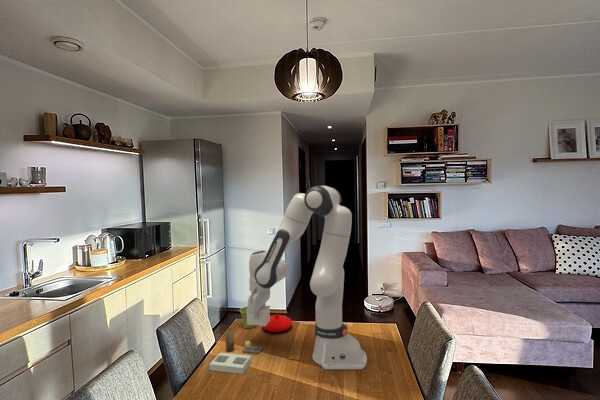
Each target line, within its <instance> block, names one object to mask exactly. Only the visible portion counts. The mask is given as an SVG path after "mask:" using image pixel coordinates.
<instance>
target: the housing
mask: <svg viewBox="0 0 600 400" xmlns="http://www.w3.org/2000/svg"><path fill="white" fill-rule="evenodd" d="M270 309H271V307H270V305H265V306H262V307H261V308H260V309H259V310H258V314H259V318H258V319H254V314H253V313H248V308H247V324H249V325H255V326H261V327H262V326H266V325H267V324H268V322H269V321H270V317H271V316H270V313H271V311H270Z"/></svg>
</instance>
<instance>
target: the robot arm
mask: <svg viewBox="0 0 600 400" xmlns="http://www.w3.org/2000/svg"><path fill="white" fill-rule="evenodd" d="M341 203H342V195H341V193H340V191H338V189H336V188H334V187H332V186H328V185H314V186H312V187H310V188H309V189H308V190H307V191H306V192H305V193H302V192H299V193H296V194H294V195H293V197H292V199H291V200H290V201H289V204H288V206H287V207H286V210H285V212H284V214H283V217H282V220H281V223H280V225H279V227H278V229H277V231H276V233H275V236H274V238H273V239H272V242H271V244H270V246H269V248H268V250H257V251H254V252H253V253H251V254H250V256H249V261H248V262H249V263H248V265H249V266H248V268H249V269H248V270H249V279H248V281H249V292H251V293H250V294H249V296H248V299H247V307H248V313H253V314H254V319H258V318H259V314H258V310H259V309H260V308H261V307H262V306H266V303H267V302H268V301H269V299H270V297H271V288H272V287H273V286H275V284H278V283H279V282H281V281H282V280H283V279H285V278H286V277H288V274H289V266H288V263H287V262H286V261H285V260H284V259H282V258H283V256H284V253H285V252H286V250H287V249H288V247H289V246H290V245H291V244H293V243H294V242H295V241H297V240H298V239H299V238H301V237H302V236H303V235H304V234H305V231H306V230H307V227H308V225H309V223H310V220H311V217H312V215H313V214H314V213H315V214H316V215H318V216H319V217H321V218H322V217H323V218H324V224H323V225H324V226H323V230H322V231H323V232H322V237H321V241H320V247H319V251H318V254H317V258H316V260H315V264H314V267H313V271H312V274H311V278H310V281H309V287H310V290H311V292H312V294H313V295H315V296H316V301H315V322H314V323H315V324H314V326H313V327H314V329H313V330H314V338H315V340H314V348H313V353H312V356H311V357H312V358H311V359H312V360H313V361H314V362H315V363H316V364H318V365H320V366H321V367H322V368H323V369H324V370H363V369H364V368H365V367H366V366H367V363H368V356H367V354H366V352H365V351H364V350H363V349H362V347H361V344H360V342H359V340H358V339H356V338H355V337H354V336H352V335H351V334H350V333H349V331H348V325H347V323H345V324H344V322H343V299H344V288H345V286H344V283H345V270H344V263H345V261H346V257H347V254H348V250H349V249H348V247H349V244H350V238H351V233H352V223H353V222H352V221H353V219H352V217H353V214H352V212H351V210H350V209H349V208H348V207H346V206H343V205H341Z"/></svg>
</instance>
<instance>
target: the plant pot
mask: <svg viewBox="0 0 600 400" xmlns="http://www.w3.org/2000/svg"><path fill="white" fill-rule="evenodd" d="M247 308H248V306H244V307H241V308H240V309H239V312H240V314H241V320H242V325H243V328H245V329H247V328H248V329H252V328H254V327H256V325H249V324H247Z"/></svg>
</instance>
